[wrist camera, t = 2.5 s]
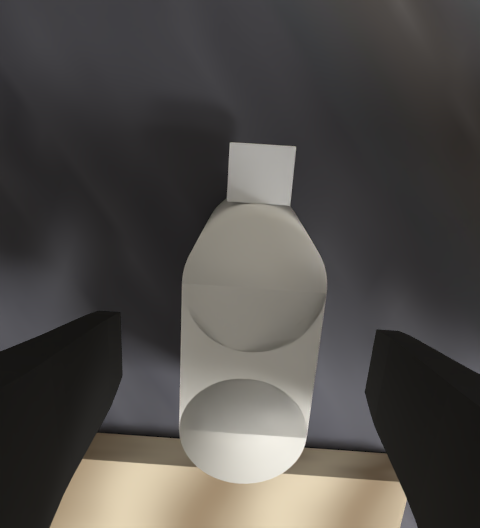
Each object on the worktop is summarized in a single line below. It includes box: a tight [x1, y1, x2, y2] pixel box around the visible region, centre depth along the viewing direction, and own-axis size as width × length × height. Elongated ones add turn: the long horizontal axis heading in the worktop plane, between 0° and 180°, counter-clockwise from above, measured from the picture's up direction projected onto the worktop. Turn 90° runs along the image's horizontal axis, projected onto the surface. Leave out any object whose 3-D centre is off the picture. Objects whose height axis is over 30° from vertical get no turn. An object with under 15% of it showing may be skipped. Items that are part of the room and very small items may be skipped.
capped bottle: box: [179, 142, 327, 484], centre depth 13 cm, size 4×10×5 cm, turn 177°
